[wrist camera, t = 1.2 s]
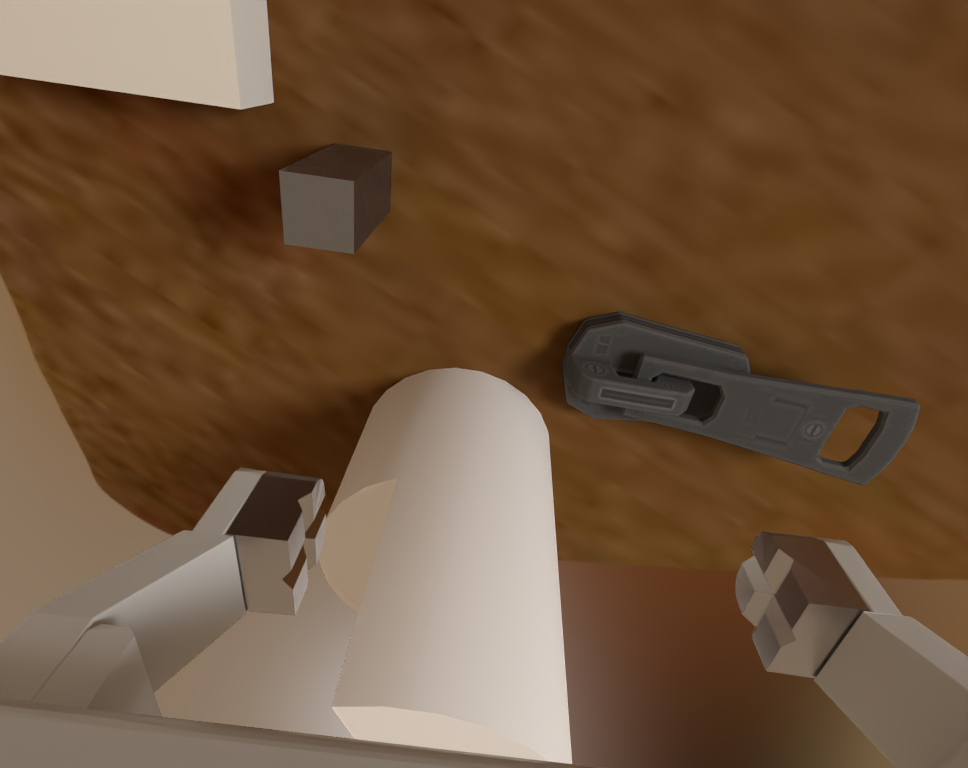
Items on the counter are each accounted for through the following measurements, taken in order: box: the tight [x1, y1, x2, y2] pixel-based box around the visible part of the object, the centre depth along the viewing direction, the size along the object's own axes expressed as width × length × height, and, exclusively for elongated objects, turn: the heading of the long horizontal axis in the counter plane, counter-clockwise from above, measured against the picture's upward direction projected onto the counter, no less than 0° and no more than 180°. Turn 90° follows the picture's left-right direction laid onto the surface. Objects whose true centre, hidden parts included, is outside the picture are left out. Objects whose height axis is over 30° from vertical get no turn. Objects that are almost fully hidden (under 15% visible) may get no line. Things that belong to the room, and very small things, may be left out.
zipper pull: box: [562, 312, 921, 485], centre depth 42 cm, size 9×7×25 cm
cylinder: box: [319, 368, 572, 764], centre depth 39 cm, size 17×17×28 cm
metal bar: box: [279, 144, 392, 254], centre depth 34 cm, size 4×4×10 cm
